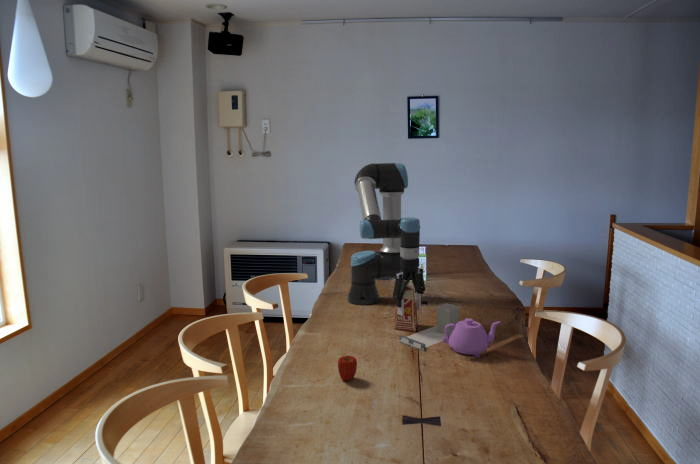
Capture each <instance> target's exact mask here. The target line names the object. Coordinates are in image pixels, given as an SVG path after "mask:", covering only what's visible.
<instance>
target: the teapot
mask: <svg viewBox="0 0 700 464" xmlns="http://www.w3.org/2000/svg"><path fill="white" fill-rule="evenodd" d="M500 323H501V321H500V320H499V321H495V322H493V323H491V326H490V331H489V333H488V334H487V331H486V330H485V329H484V327H483V326H482V324H481V323H480V322H478V321H476V320H474V319H473V318H469V317H468V318H464V320H460V321H459V320H458V323H457V324H456V325H455V324H448V325H447V326H446V327H445V333H446V336H447V337H446V336H445V337H444V338H443V341H442V342H443V343H444V344H448V345H449V346H450V348H451V349H452V350H453V351H454V352H456V353H459V354H461V355H470V356H471V355H473V357H474V358H476V359H478V358H479V359H480V358H481V354H482V353H484V352H485V351H486V350H487V349H488V348H489V345H490V344H491V343H492V342H493V341H494V339H495V336H496V328H497V326H498V325H499V324H500ZM450 326H452V327H454V328H453V329H452V331H451V333H450V336H449V334H448V327H450ZM445 338H447V339H446V340H445Z"/></svg>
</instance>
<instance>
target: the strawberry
mask: <svg viewBox="0 0 700 464" xmlns="http://www.w3.org/2000/svg"><path fill="white" fill-rule="evenodd" d="M357 368H358V362H357V359H356V357H355V356H352V355H345V356H344V355H343V356H341V357H339V358H338V360H337V369H338V374H339V377H340V379H341V380H342V381H343V382H344V381H345V382H346V381H350V380H351V381H352V380H353V379H354V377H355V375H356V373H357Z"/></svg>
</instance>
